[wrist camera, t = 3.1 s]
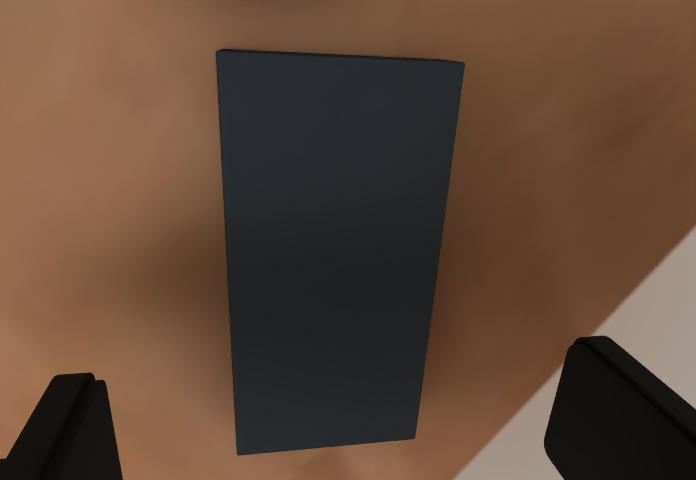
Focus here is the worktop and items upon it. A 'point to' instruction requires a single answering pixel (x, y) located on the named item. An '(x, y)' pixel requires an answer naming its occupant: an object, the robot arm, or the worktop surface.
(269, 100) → the dark blue flat block
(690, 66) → the worktop surface
